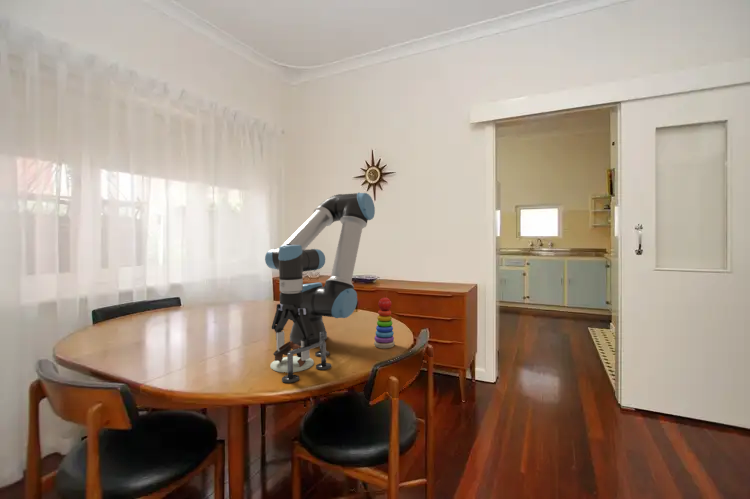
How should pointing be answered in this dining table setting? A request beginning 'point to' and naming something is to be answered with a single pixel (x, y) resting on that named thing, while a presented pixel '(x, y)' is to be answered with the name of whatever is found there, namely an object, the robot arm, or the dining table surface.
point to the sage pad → (283, 365)
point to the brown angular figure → (286, 349)
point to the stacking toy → (384, 325)
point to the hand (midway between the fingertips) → (292, 354)
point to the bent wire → (322, 353)
